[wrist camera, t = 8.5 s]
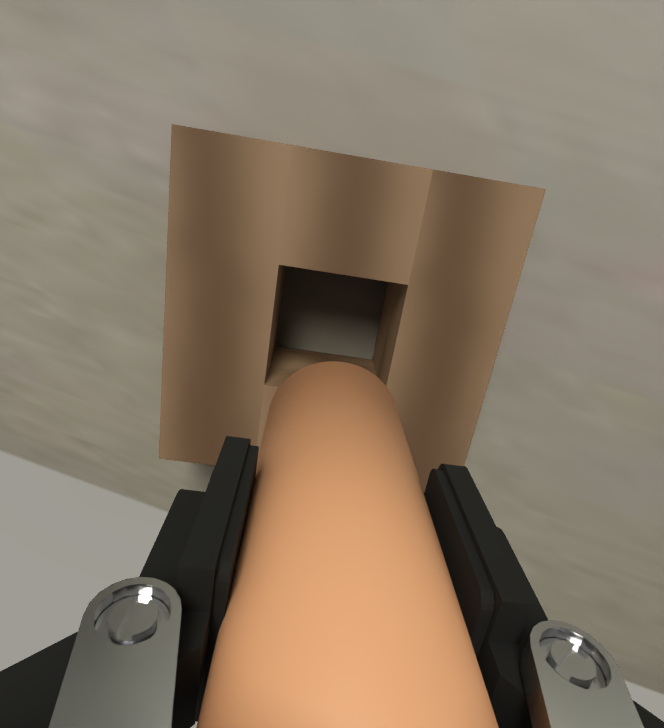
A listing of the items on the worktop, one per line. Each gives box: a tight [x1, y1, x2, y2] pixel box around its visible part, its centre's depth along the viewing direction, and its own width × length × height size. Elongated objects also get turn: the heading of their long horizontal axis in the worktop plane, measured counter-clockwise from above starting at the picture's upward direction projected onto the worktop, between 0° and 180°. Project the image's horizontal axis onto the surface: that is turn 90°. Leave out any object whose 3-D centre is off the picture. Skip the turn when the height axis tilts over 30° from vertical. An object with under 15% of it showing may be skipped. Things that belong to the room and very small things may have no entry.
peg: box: [197, 361, 499, 728], centre depth 9 cm, size 4×4×14 cm
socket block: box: [159, 124, 546, 492], centre depth 26 cm, size 16×16×6 cm
